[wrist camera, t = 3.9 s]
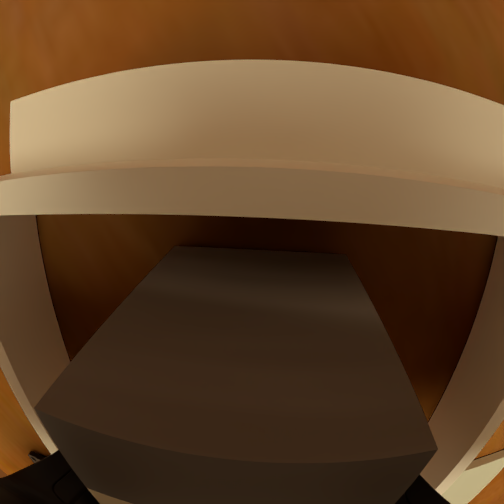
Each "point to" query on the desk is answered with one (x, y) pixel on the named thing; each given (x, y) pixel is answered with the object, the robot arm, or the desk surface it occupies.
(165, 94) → the white rectangular frame
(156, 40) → the desk surface
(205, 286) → the box
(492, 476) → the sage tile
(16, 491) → the robot arm
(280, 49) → the desk surface
